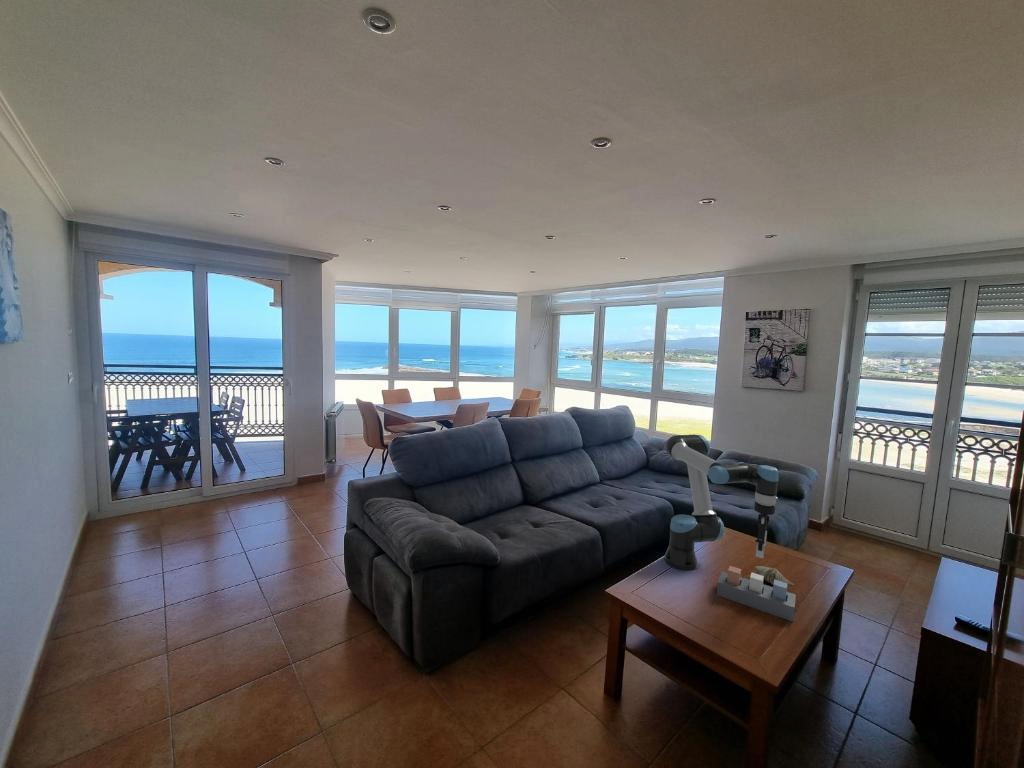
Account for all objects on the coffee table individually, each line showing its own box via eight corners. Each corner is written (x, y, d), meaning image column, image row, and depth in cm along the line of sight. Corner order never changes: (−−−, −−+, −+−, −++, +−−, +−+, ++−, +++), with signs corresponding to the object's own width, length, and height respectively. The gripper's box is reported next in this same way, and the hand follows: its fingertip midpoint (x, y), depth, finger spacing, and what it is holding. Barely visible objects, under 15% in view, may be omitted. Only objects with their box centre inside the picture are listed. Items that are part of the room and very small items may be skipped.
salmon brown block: (726, 585, 181) (728, 570, 180) (728, 580, 185) (729, 565, 184) (738, 589, 178) (739, 573, 178) (740, 584, 182) (741, 569, 181)
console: (716, 594, 181) (717, 582, 180) (721, 583, 189) (722, 571, 189) (793, 621, 164) (794, 607, 164) (794, 607, 173) (795, 594, 172)
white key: (748, 592, 176) (750, 577, 175) (750, 587, 180) (751, 572, 179) (761, 596, 173) (762, 580, 172) (762, 591, 177) (763, 576, 176)
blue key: (772, 600, 171) (773, 584, 170) (772, 594, 175) (774, 579, 174) (785, 604, 168) (786, 588, 167) (785, 599, 172) (787, 583, 171)
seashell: (796, 578, 186) (781, 562, 185) (791, 596, 181) (776, 580, 181) (767, 576, 198) (753, 561, 198) (762, 593, 193) (747, 578, 193)
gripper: (774, 514, 161) (769, 566, 163) (777, 496, 181) (772, 542, 183) (752, 510, 165) (747, 560, 167) (757, 492, 185) (753, 537, 187)
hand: (760, 550), depth 175 cm, fingers open, 13 cm apart
